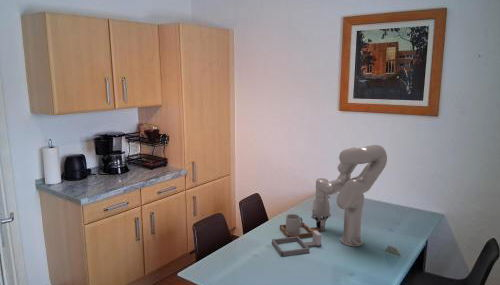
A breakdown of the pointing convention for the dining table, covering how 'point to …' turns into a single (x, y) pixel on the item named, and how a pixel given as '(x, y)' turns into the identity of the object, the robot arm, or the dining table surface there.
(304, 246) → the grey frame with handle
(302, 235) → the brown frame with handle
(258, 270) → the dining table surface
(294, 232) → the mug
